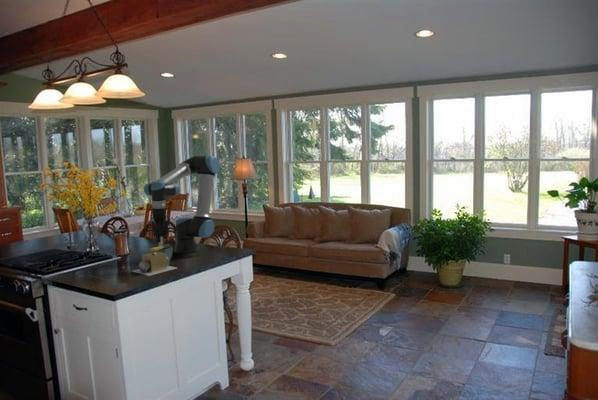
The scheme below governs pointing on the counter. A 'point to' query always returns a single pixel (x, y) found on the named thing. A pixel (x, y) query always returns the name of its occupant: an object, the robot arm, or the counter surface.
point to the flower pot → (166, 251)
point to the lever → (159, 247)
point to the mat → (156, 271)
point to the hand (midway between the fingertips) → (160, 247)
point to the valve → (154, 262)
